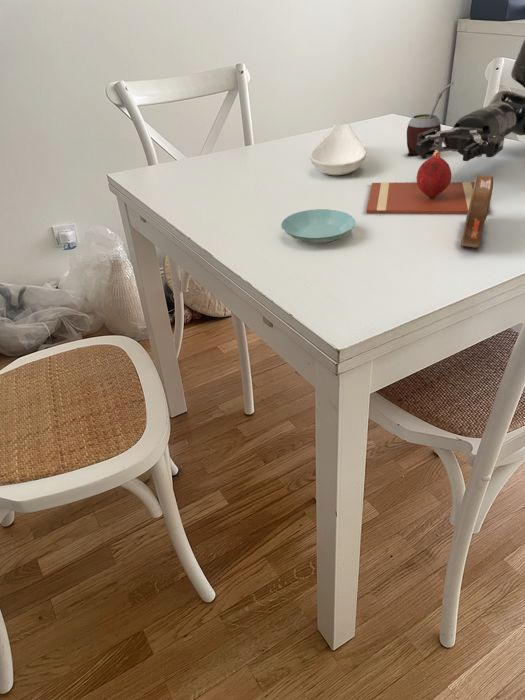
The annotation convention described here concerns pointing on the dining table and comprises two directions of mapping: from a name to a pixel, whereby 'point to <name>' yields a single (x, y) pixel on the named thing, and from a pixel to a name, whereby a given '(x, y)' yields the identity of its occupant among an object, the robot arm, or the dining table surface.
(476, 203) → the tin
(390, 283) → the dining table surface
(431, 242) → the dining table surface
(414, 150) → the mate gourd
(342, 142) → the spoon rest
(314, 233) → the saucer
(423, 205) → the towel
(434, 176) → the red pomegranate
